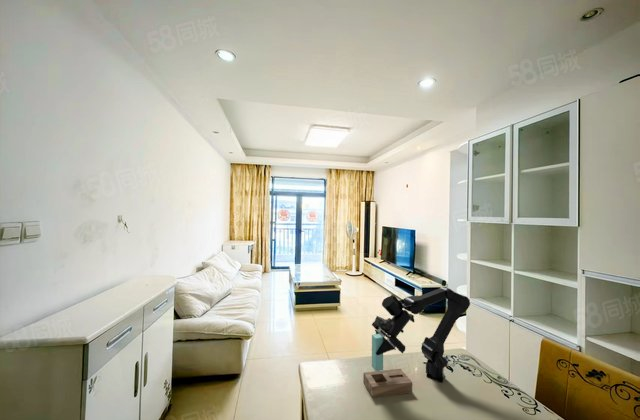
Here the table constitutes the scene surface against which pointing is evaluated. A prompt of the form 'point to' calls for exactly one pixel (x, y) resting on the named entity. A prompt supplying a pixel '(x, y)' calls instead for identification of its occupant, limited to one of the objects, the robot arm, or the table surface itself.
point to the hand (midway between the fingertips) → (374, 352)
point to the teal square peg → (376, 343)
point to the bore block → (387, 382)
